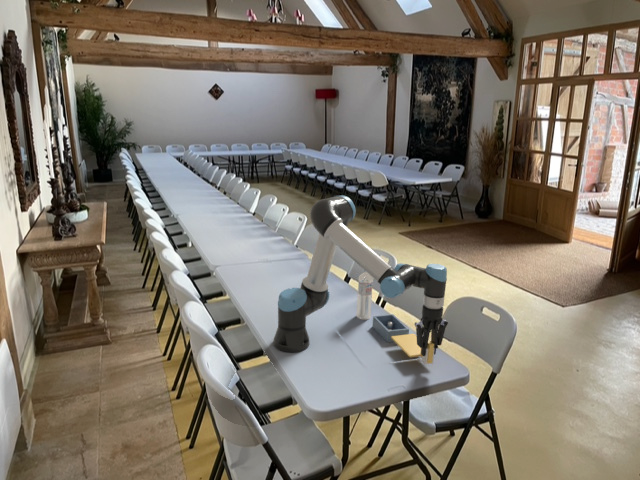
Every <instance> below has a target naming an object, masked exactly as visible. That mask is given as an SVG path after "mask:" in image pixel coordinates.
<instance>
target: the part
mask: <svg viewBox="0 0 640 480" xmlns="http://www.w3.org/2000/svg"><path fill="white" fill-rule="evenodd" d="M393 324H394V323H393V322H391V321H388V322H387V329H391V330H393Z"/></svg>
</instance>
